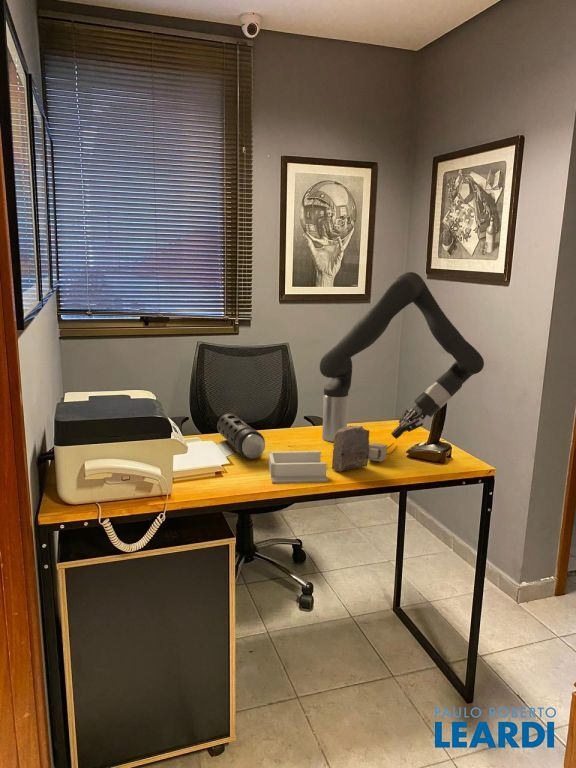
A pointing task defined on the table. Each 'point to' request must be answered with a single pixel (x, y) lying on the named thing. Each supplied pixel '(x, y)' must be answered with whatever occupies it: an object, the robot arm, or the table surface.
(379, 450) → the electrical component
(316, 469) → the open rectangular box
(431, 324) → the robot arm
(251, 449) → the muzzle brake
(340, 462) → the geological specimen
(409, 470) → the table surface
